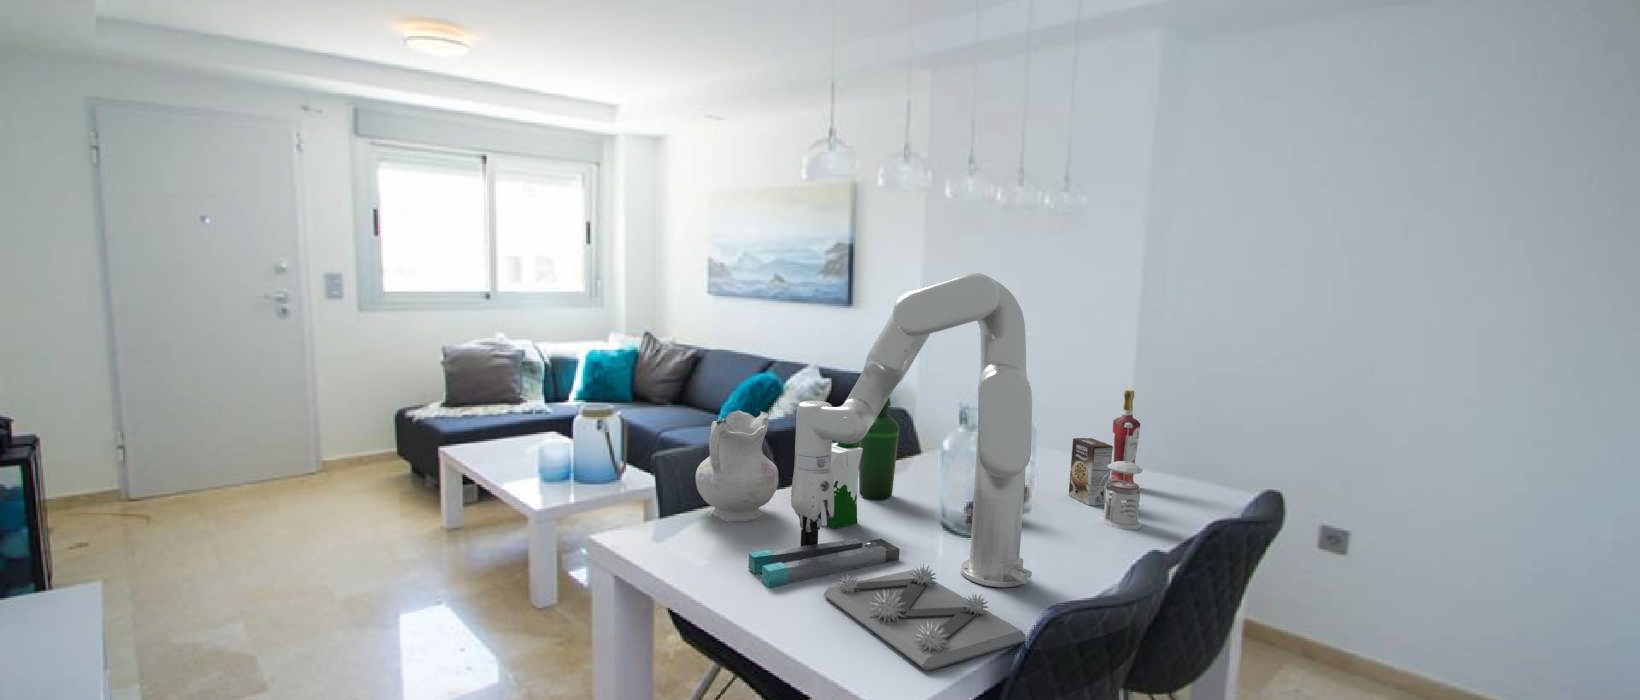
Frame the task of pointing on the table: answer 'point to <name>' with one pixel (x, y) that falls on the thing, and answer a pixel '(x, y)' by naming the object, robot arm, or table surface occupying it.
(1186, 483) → the table surface
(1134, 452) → the liquor
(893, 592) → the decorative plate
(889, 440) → the bottle
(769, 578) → the base
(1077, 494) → the cookie box
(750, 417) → the ceramic pitcher
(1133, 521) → the french press
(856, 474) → the milk carton
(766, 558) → the tongs arm
